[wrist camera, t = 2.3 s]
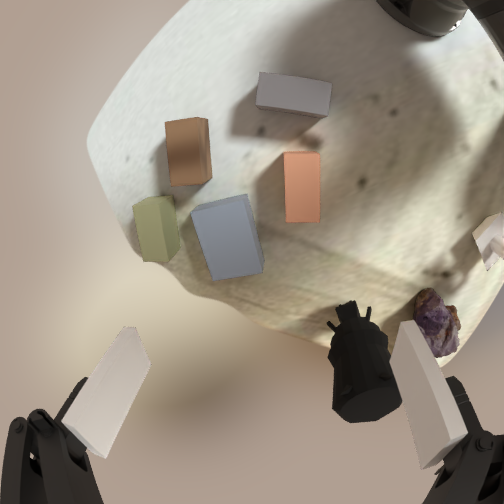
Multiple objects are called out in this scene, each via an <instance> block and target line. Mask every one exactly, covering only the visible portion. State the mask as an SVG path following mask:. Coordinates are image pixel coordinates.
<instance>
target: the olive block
mask: <svg viewBox="0 0 504 504" xmlns="http://www.w3.org/2000/svg"><path fill="white" fill-rule="evenodd" d="M132 207H133V213H134V218H135V224H136V229H137V234H138V239H139V244H140V248H141V253H142V257H143V261H145V262H169V261H170V260H171V258H172V257H173V256H174V255H175V254H176V252H177V251H178V250H179V249H180V248H181V246H180V240H179V233H178V227H177V220H176V213H175V206H174V199H173V195H167V196H156V197H148V198H146V199H144V200H142V201H141V202H139V203H137V204H135V205H133V206H132Z"/></svg>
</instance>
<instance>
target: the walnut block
mask: <svg viewBox="0 0 504 504" xmlns="http://www.w3.org/2000/svg"><path fill="white" fill-rule="evenodd" d="M165 131H166V143H167V154H168V164H169V173H170V182H171V187H173V186H184V185H197V184H203V183H205V182H206V181H208V180H210V179H211V178H212V167H211V155H210V141H209V127H208V119H205V118H199V117H194V118H187V119H180V120H174V121H168V122H165Z"/></svg>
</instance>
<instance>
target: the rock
mask: <svg viewBox="0 0 504 504" xmlns="http://www.w3.org/2000/svg"><path fill="white" fill-rule="evenodd" d="M413 320H415V322H416V324H417V326H418V327H419V329H420V331H421V333H422V335H423V336H424V338H425V340H426V342H427V344H428V346H429V348H430V349H431V351H432V353H433V355H434V357H436V358H438V357H443V356H447V355H449V354H451V353H452V352H456V351H457V347H458V346H459V338H458V331H459V330H460V328H461V325H460V321H459V319H458V316H457V309H456V307H455V306H453V305H451V306H445V305H444V303H443V299H441V297H439V296H438V295H437V294H436V292H435V291H434V290H433V289H432V288H427V289H425V290H423V291H422V292H421V293H420V294H419V295H418V296H417V300H416V303H415V313H414V316H413Z"/></svg>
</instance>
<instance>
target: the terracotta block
mask: <svg viewBox="0 0 504 504" xmlns="http://www.w3.org/2000/svg"><path fill="white" fill-rule="evenodd" d="M284 173H285V207H286V223H296V222H320V154H319V153H317V152H315V151H289V152H284Z"/></svg>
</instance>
